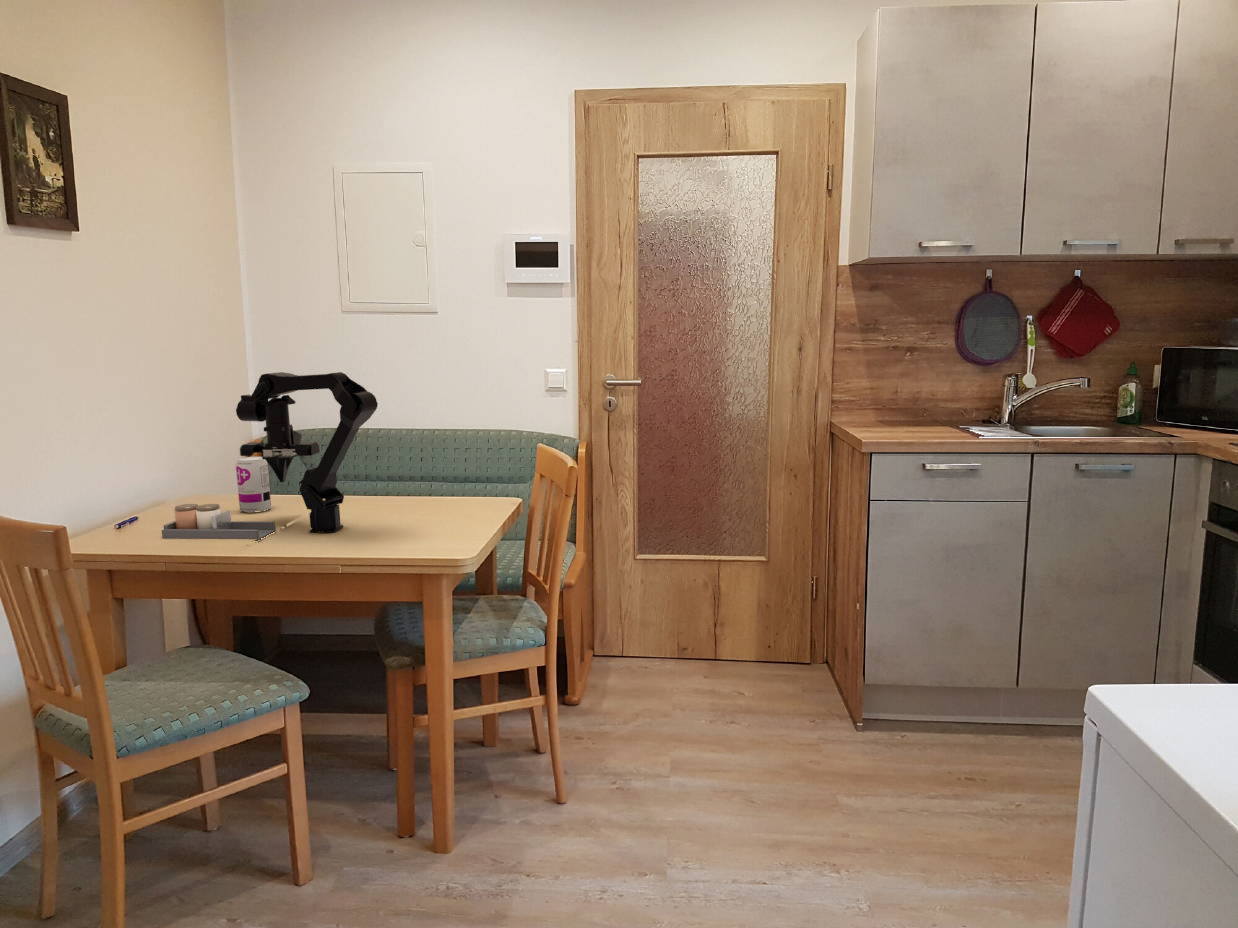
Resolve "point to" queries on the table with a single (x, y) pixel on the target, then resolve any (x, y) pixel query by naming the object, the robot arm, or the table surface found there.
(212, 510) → the cream jar
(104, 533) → the table surface
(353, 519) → the table surface
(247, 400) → the robot arm
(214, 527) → the plate
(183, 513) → the front jar
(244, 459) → the supplement can
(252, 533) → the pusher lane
